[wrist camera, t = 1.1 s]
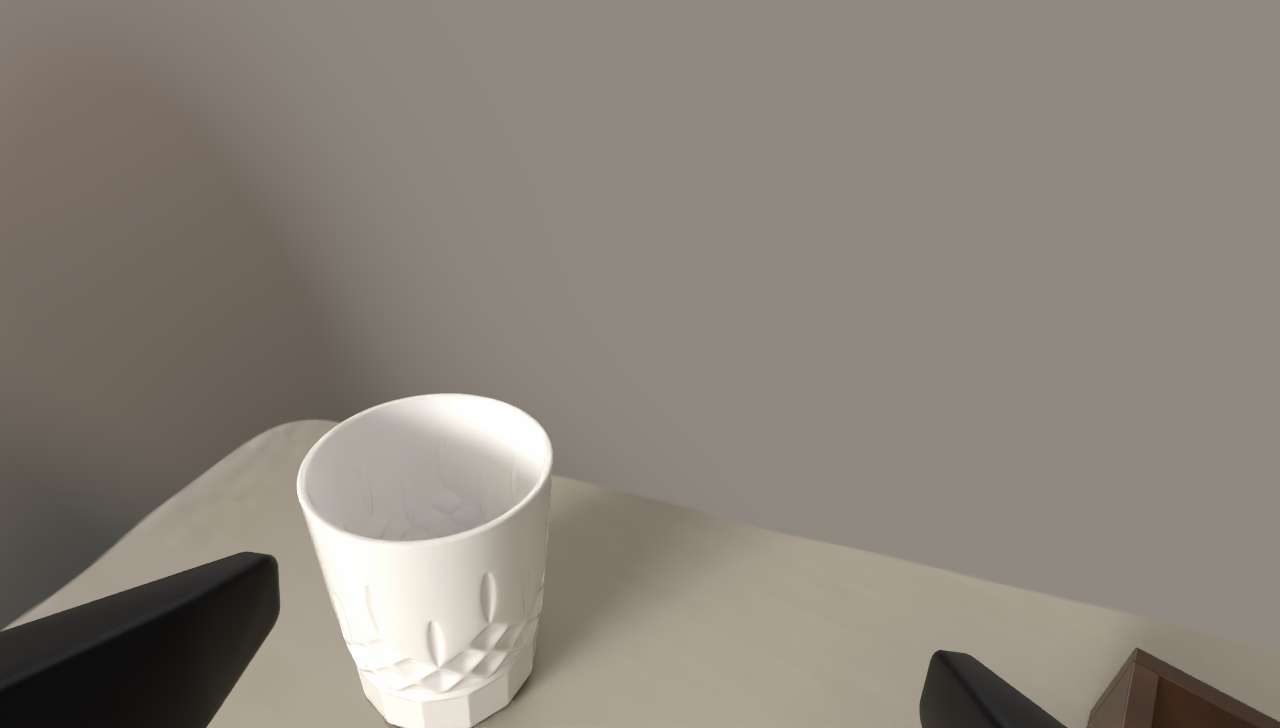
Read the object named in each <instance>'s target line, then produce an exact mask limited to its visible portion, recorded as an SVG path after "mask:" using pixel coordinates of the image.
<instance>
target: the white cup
mask: <svg viewBox="0 0 1280 728" xmlns="http://www.w3.org/2000/svg"><path fill="white" fill-rule="evenodd" d="M552 467H553V449H552V445H551V442H550V439H549V437H548V435H547V433H546V432H545V430H544V429H543V427H542V426H541V425H540V424H539V423H538V422H537V421H536V420H535V419H534V418H532V417H531V416H530V415H529V414H527V413H525V412H524V411H522V410H521V409H519V408H517V407H515V406H512V405H510V404H508V403H505V402H502V401H499V400H496V399H492V398H488V397H482V396H477V395H469V394H454V393H451V394H450V393H445V394H428V395H419V396H413V397H407V398H402V399H398V400H394V401H390V402H387V403H384V404H380V405H378V406H375V407H372V408H370V409H367V410H365V411H363V412H360V413H358V414H356V415H354V416H352V417H350V418H348V419H347V420H345V421H343V422H341V423H340V424H338V425H337V426H335V427H334V428H333V429H331V430H330V431H329V432H327V433H326V434H325V435H324V436H323V437H322V438H320V439H319V440H318V441H317V442H316V444H315V445H314V446H313V447H312V448H311V449H310V451H309V452H308V454H307V455H306V457H305V458H304V460H303V462H302V464H301V467H300V469H299V473H298V477H297V493H298V498H299V501H300V504H301V507H302V510H303V513H304V517H305V520H306V523H307V526H308V529H309V532H310V535H311V538H312V542H313V545H314V548H315V551H316V554H317V558H318V561H319V564H320V567H321V570H322V574H323V577H324V580H325V583H326V587H327V590H328V593H329V596H330V599H331V602H332V605H333V608H334V611H335V613H336V616H337V618H338V620H339V623H340V626H341V630H342V633H343V636H344V639H345V642H346V644H347V646H348V648H349V650H350V652H351V654H352V656H353V658H354V660H355V662H356V666H357V669H358V672H359V676H360V679H361V683H362V686H363V689H364V693H365V695H366V697H367V698H368V699H369V701H370V702H371V703H372V704H373V705H374V706H375V708H376V709H377V710H378V711H379V712H380V713H381V715H382V716H383V717H384V718H385V719H386V720H387V722H388V723H390V724H393V725H396V726H399V727H403V728H471V727H473V726H474V725H476V724H478V723H479V722H481V721H482V720H484V719H486V718H487V717H489V716H491V715H492V714H494V713H495V712H497V711H499V710H500V709H502V708H504V707H505V706H507V705H508V704H509V703H510V701H511V700H512V698H513V697H514V696H515V694H516V693H517V692H518V690H519V689H520V687H521V686H522V685H523V683H524V682H525V681H526V679H527V678H528V676H529V675H530V674H531V672H532V667H533V661H534V655H535V650H536V644H537V638H538V621H539V615H540V613H541V610H542V601H543V587H544V579H545V564H546V557H547V549H548V532H549V515H550V497H551V482H552Z"/></svg>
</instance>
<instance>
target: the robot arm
mask: <svg viewBox="0 0 1280 728" xmlns="http://www.w3.org/2000/svg"><path fill="white" fill-rule="evenodd" d="M279 611H280V592H279V573H278V563H277V561H276V559H275V558H274V557H273V556H272V555H268V554H261V553H254V552H241V553H238V554H235V555H232V556H229V557H226V558H223V559H220V560H217V561H214V562H211V563H207V564H204V565H201V566H198V567H195V568H192V569H189V570H186V571H183V572H180V573H177V574H174V575H171V576H168V577H165V578H162V579H159V580H156V581H153V582H150V583H147V584H144V585H141V586H138V587H135V588H132V589H129V590H126V591H123V592H120V593H117V594H114V595H111V596H108V597H104V598H101V599H98V600H95V601H92V602H89V603H86V604H83V605H80V606H77V607H74V608H71V609H68V610H65V611H62V612H59V613H56V614H53V615H50V616H47V617H44V618H41V619H38V620H35V621H32V622H29V623H26V624H23V625H20V626H17V627H14V628H11V629H8V630H5V631H1V632H0V728H206V727H207V726H208V724H209V723H210V721H211V720H212V719H213V717H214V716H215V714H216V713H217V711H218V710H219V708H220V707H221V705H222V704H223V702H224V701H225V699H226V698H227V696H228V695H229V693H230V692H231V690H232V689H233V687H234V686H235V684H236V683H237V681H238V680H239V678H240V677H241V675H242V674H243V672H244V671H245V669H246V668H247V666H248V665H249V663H250V662H251V660H252V659H253V657H254V656H255V654H256V653H257V651H258V649H259V648H260V646H261V645H262V643H263V642H264V640H265V639H266V637H267V636H268V634H269V633H270V631H271V630H272V628H273V627H274V625H275V623H276V621H277V618H278V615H279ZM920 720H921V725H922V728H1067V727H1066V726H1064V725H1063V724H1062V723H1060V722H1059V721H1058V720H1056V719H1055V718H1054V717H1052V716H1051V715H1050V714H1048V713H1047V712H1046V711H1044V710H1043V709H1042V708H1040V707H1039V706H1038V705H1036V704H1035V703H1034V702H1032V701H1031V700H1030V699H1028V698H1027V697H1026V696H1024V695H1023V694H1022V693H1020V692H1019V691H1018V690H1016V689H1015V688H1014V687H1012V686H1011V685H1010V684H1008V683H1007V682H1006V681H1004V680H1003V679H1002V678H1000V677H999V676H998V675H996V674H995V673H994V672H992V671H991V670H990V669H988V668H987V667H986V666H984V665H983V664H982V663H980V662H979V661H978V660H976V659H975V658H974V657H972V656H971V655H968V654H965V653H958V652H951V651H944V650H939V651H937V652H935V653H934V654H933V656H932V658H931V661H930V664H929V668H928V672H927V676H926V680H925V684H924V688H923V692H922V696H921V700H920Z"/></svg>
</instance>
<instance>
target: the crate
mask: <svg viewBox="0 0 1280 728" xmlns="http://www.w3.org/2000/svg"><path fill="white" fill-rule="evenodd" d="M1087 728H1280V722H1278V721H1277V720H1275V719H1273V718H1271V717H1269V716H1267V715H1265V714H1263V713H1261V712H1259V711H1257V710H1256V709H1254V708H1252V707H1250V706H1248V705H1246V704H1244V703H1242V702H1240V701H1238V700H1236V699H1234V698H1233V697H1231V696H1229V695H1227V694H1225V693H1223V692H1221V691H1219V690H1217V689H1215V688H1213V687H1212V686H1210V685H1208V684H1206V683H1204V682H1202V681H1200V680H1198V679H1196V678H1194V677H1192V676H1190V675H1189V674H1187V673H1185V672H1183V671H1181V670H1179V669H1177V668H1175V667H1173V666H1171V665H1169V664H1168V663H1166V662H1164V661H1162V660H1160V659H1158V658H1156V657H1154V656H1152V655H1150V654H1148V653H1147V652H1145V651H1143V650H1141V649H1139V648H1135V650H1134V651H1133V652H1132V654H1131V655H1130V657H1129V658H1128V660H1127V661H1126V662H1125V664H1124V665H1123V667H1122V668H1121V669H1120V671H1119V672H1118V674H1117V675H1116V676H1115V678H1114V679H1113V681H1112V682H1111V683H1110V685H1109V686H1108V688H1107V689H1106V690H1105V692H1104V693H1103V695H1102V696H1101V697H1100V699H1099V700H1098V702H1097V703H1096V704H1095V706H1094V707H1093V709H1092V710H1091V713H1090V717H1089V721H1088V725H1087Z"/></svg>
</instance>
